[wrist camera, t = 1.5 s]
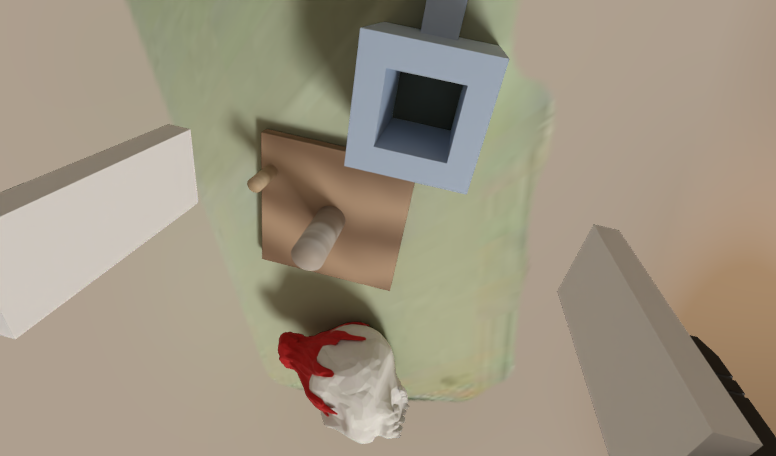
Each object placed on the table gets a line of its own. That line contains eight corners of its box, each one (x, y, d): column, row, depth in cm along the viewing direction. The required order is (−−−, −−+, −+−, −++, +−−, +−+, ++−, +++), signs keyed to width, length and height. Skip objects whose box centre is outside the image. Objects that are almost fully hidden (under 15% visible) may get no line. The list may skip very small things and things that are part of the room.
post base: (266, 128, 32) (220, 158, 26) (419, 163, 31) (407, 202, 25) (266, 253, 39) (230, 298, 33) (391, 284, 38) (377, 337, 32)
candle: (411, 394, 45) (297, 349, 47) (435, 329, 39) (303, 281, 41) (389, 471, 38) (255, 412, 40) (414, 405, 32) (255, 342, 34)
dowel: (264, 163, 32) (247, 176, 30) (278, 166, 32) (261, 180, 30) (264, 175, 33) (247, 190, 30) (277, 179, 33) (261, 194, 30)
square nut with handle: (466, 156, 30) (466, 194, 24) (367, 133, 30) (344, 166, 24) (517, -16, 24) (534, -21, 18) (393, -40, 24) (369, -53, 18)
